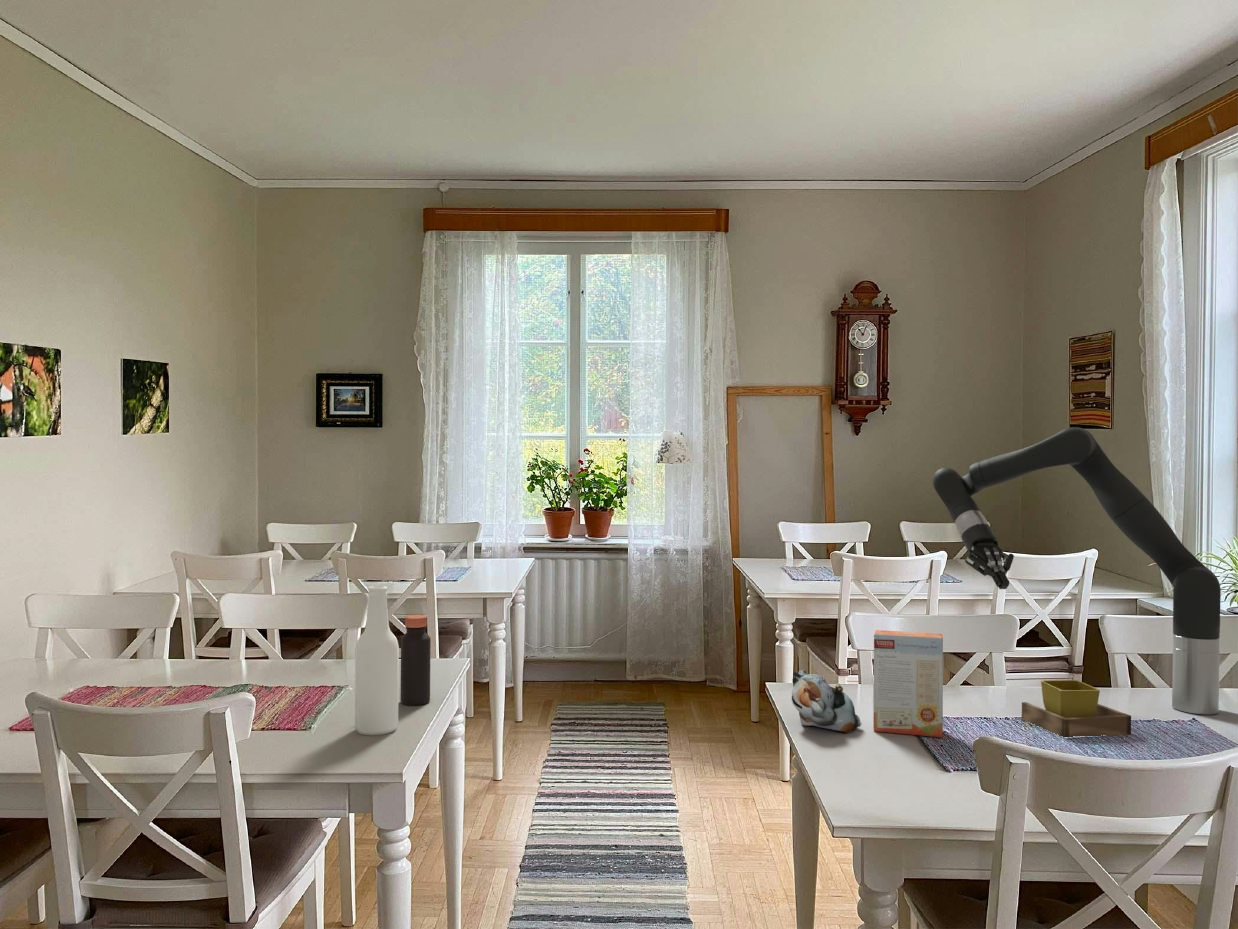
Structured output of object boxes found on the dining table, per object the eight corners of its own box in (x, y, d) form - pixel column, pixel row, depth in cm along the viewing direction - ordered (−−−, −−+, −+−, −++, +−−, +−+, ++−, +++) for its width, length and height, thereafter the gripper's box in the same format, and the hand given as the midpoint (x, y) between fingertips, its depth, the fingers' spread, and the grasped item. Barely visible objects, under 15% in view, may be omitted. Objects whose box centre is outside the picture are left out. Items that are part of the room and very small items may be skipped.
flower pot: (1100, 731, 197) (1101, 689, 197) (1061, 732, 196) (1061, 690, 196) (1077, 720, 206) (1077, 679, 206) (1039, 720, 205) (1039, 680, 205)
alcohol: (384, 721, 200) (385, 582, 200) (406, 730, 193) (407, 587, 193) (346, 729, 194) (348, 586, 193) (368, 738, 187) (369, 591, 187)
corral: (1021, 720, 205) (1021, 702, 205) (1084, 716, 209) (1084, 699, 209) (1064, 739, 192) (1065, 719, 192) (1131, 734, 195) (1131, 715, 195)
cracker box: (942, 731, 197) (943, 632, 196) (942, 739, 191) (943, 637, 191) (874, 724, 201) (875, 628, 201) (872, 732, 195) (873, 633, 195)
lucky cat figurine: (868, 734, 193) (847, 680, 189) (814, 755, 194) (792, 702, 190) (847, 696, 208) (827, 645, 204) (797, 716, 208) (776, 665, 204)
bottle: (426, 706, 212) (427, 619, 212) (397, 706, 212) (397, 619, 212) (432, 698, 219) (433, 614, 219) (404, 698, 219) (405, 614, 219)
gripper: (958, 522, 230) (987, 578, 219) (1005, 522, 233) (1036, 577, 222) (945, 541, 236) (973, 597, 224) (991, 541, 239) (1021, 596, 227)
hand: (1004, 587), depth 223 cm, fingers closed
